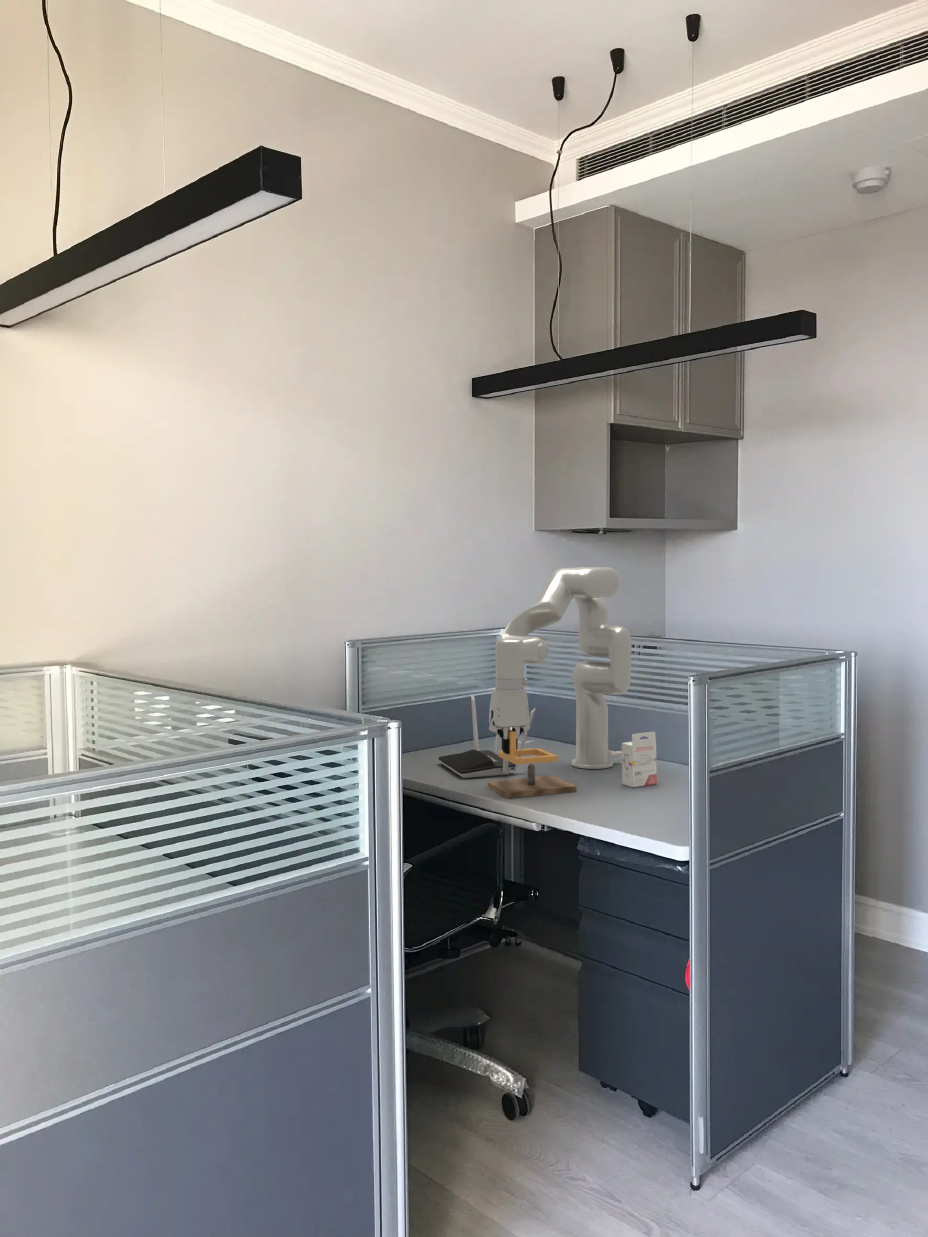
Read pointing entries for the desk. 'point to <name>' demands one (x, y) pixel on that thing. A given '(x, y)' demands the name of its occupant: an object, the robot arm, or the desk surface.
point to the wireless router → (481, 756)
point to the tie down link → (525, 753)
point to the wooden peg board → (531, 785)
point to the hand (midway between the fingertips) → (509, 752)
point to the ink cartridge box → (639, 760)
